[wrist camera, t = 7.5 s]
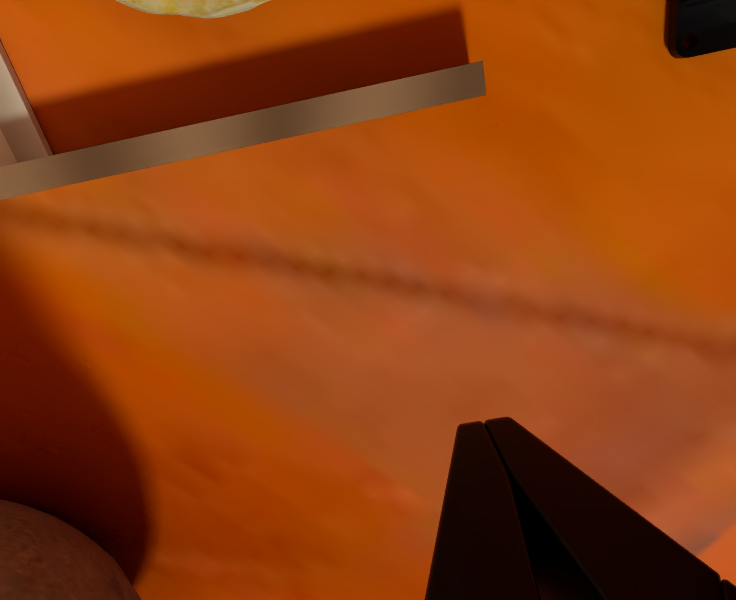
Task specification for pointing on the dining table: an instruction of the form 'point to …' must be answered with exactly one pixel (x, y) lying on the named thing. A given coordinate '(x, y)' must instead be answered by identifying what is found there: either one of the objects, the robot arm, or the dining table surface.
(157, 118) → the dining table surface
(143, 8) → the bread roll
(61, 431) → the dining table surface
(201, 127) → the brown open frame
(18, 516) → the ceramic bowl
